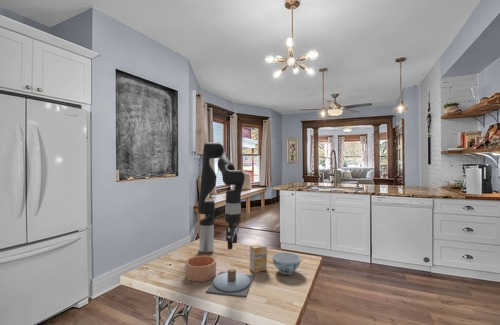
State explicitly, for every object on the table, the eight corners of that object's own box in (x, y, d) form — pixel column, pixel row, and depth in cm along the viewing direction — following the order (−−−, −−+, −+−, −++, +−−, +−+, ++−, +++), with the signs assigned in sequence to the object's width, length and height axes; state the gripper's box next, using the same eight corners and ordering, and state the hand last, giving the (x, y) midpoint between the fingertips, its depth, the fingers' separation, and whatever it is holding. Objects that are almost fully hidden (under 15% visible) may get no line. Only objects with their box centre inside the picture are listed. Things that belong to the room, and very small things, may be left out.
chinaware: (305, 271, 129) (306, 257, 129) (290, 281, 118) (290, 265, 118) (282, 263, 140) (283, 250, 140) (266, 271, 129) (266, 257, 129)
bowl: (193, 267, 133) (193, 254, 133) (219, 269, 130) (219, 256, 130) (180, 279, 118) (180, 265, 118) (209, 283, 115) (209, 268, 116)
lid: (220, 273, 125) (220, 262, 125) (252, 276, 122) (252, 264, 122) (208, 289, 108) (208, 276, 108) (245, 293, 105) (245, 280, 105)
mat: (220, 272, 126) (220, 271, 126) (253, 276, 123) (253, 275, 123) (206, 292, 107) (206, 291, 107) (245, 297, 103) (246, 295, 103)
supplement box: (253, 273, 127) (254, 248, 127) (249, 269, 131) (249, 245, 131) (267, 270, 131) (267, 246, 131) (262, 266, 135) (262, 243, 135)
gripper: (229, 208, 123) (228, 240, 123) (220, 214, 109) (220, 250, 109) (243, 209, 122) (243, 241, 122) (237, 215, 108) (236, 251, 108)
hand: (232, 245), depth 115 cm, fingers open, 8 cm apart
